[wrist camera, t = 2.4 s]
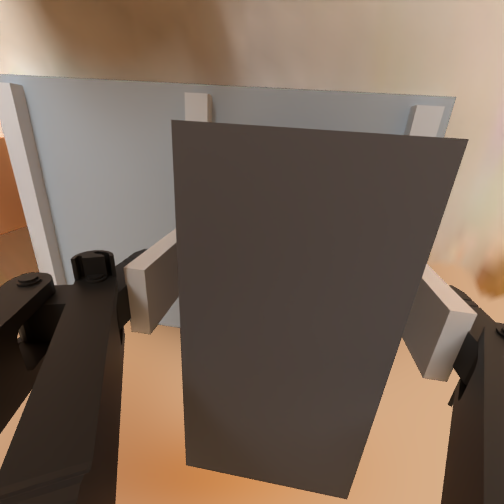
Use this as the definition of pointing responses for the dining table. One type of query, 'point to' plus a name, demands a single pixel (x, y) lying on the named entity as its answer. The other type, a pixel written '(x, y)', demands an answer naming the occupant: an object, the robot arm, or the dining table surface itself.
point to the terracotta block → (9, 195)
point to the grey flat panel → (151, 151)
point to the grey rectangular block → (297, 289)
